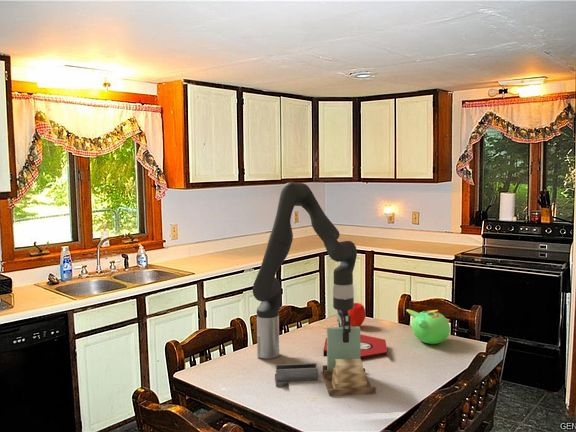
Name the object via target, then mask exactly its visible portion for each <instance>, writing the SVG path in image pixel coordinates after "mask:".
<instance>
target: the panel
mask: <svg viewBox="0 0 576 432" xmlns="http://www.w3.org/2000/svg"><path fill="white" fill-rule="evenodd" d="M345 329H348V328H347V327H345ZM360 334H361V326H355V327H351V332H349V342H348V343H344V342H343V332H342V327H339V326H333V327H332V326H331V327H326V338H327V356H326V361H327V363H326V365H327V370H333V368H335V359H360Z"/></svg>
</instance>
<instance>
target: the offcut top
mask: <svg viewBox="0 0 576 432" xmlns="http://www.w3.org/2000/svg"><path fill="white" fill-rule="evenodd" d="M362 361H363V360H361V359H335V368H336V372H337V374H361V373H363V368H364V364H363V362H362Z"/></svg>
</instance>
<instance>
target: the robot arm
mask: <svg viewBox="0 0 576 432" xmlns="http://www.w3.org/2000/svg"><path fill="white" fill-rule="evenodd" d="M295 207H301V208H303V209H304V210H305V211H306V212H307V214H308V215H309V218H310V223H311V226H312V229H313V230H314V232H315V234H316V235H317V236H318V237H319V239H320V240H321V241H322V243H323V245H324V248H325V250H326V253H327V255H328V257H329V258H330V259H331V260H333V262H337V263H340V264H339V265H338V266H337V267H335V268H334V269H333V287H332V299H333V300H332V303H333V305H332V307H333V309H334V310H336V315H337V316H336V321H337V325H338V327H342V332H343V342H344V343H348V342H349V332H351V325H350V318H351V317H350V314H348V310H351V309H353V308H354V303H355V301H354V300H355V299H354V297H355V296H354V295H355V294H354V293H355V292H354V274H353V272H354V268H355V266H356V260H357V256H358V251H357V249H358V248H357V247H356V244H355V243H354V242H353V241H351V240H343V241H338V239H339V238H340V235H341V234H340V232H339V230H338V228H337V227H336V226H335V224H333V222H332V221H331V220H330V219H329V217H328V216H327V215H326V213H325V212H324V210H323V208H322V207H321V205H320V203H319V202H318V200H317V198H316V196H315V195H314V193H313V192H312V190H311V188H310V187H309V185H307V184H306V183H303V182H294V181H291V182H286V183H285V184H284V185H283V186H282V188H281V191H280V195H279V200H278V205H277V209H276V210H277V211H276V213H275V218H274V223H273V225H272V229H271V232H270V235H269V239H268V241H267V245H266V249H265V252H264V255H263V259H262V262H261V264H260V268H259V271H258V273H257V274H256V277H255V280H254V282H253V285H252V294H253V296H254V299H255V300H257V301H259V302H260V304H259V306H257V308H256V342H257V343H256V344H257V346H256V347H257V358H259V359H260V358H261V359H266V360H267V359H269V360H271V359H275V358H278V357H279V356H280V314H279V313H280V308H281V306H282V305H281V301H282V300H281V299H282V288H281V284H280V283H281V282H280V281H279V279H278V278H277V277H276V275H277V272H278V270H279V268H280V267H281V266H282V264H283V263H284V261H286V258H287V257H288V255H289V253H290V250H291V247H292V243H293V239H294V235H293V234H294V233H293V228H292V224H291V220H292V219H291V218H292V213H293V210H294V209H295ZM345 327H347V328H348V329H345Z"/></svg>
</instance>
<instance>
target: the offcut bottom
mask: <svg viewBox="0 0 576 432" xmlns="http://www.w3.org/2000/svg"><path fill="white" fill-rule="evenodd" d="M332 385H333V387H334V389H337V388H359V387H367V382H366V381H365V382H353V383H340V384H338V383H337V382H336V380H335V379H334V377H333V375H332Z"/></svg>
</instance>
